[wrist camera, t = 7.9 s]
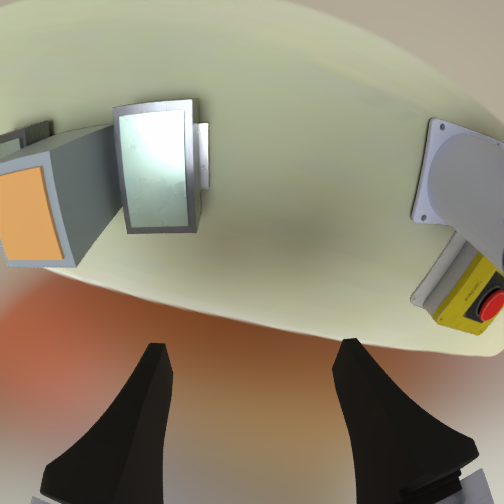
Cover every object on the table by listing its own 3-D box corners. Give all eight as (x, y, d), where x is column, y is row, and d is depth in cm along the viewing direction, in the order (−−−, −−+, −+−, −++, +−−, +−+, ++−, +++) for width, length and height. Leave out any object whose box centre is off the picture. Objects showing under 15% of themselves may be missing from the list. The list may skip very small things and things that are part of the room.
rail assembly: (208, 97, 15) (202, 99, 12) (209, 208, 18) (205, 234, 15) (9, 131, 14) (-22, 143, 11) (25, 218, 17) (1, 240, 14)
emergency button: (487, 345, 25) (424, 330, 21) (471, 322, 28) (403, 298, 25) (534, 285, 20) (489, 241, 17) (513, 264, 24) (459, 216, 20)
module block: (118, 122, 14) (46, 152, 8) (127, 200, 17) (74, 270, 10) (57, 133, 14) (-23, 171, 8) (69, 204, 17) (6, 268, 10)
